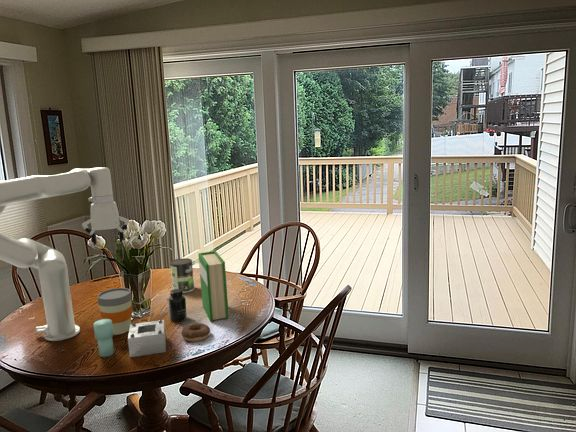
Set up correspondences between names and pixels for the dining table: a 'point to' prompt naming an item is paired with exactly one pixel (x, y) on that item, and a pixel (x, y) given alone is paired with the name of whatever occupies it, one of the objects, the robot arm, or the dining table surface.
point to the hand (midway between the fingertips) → (108, 242)
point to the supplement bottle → (177, 306)
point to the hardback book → (213, 285)
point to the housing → (147, 338)
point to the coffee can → (182, 275)
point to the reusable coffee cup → (116, 308)
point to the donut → (195, 332)
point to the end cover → (104, 337)
